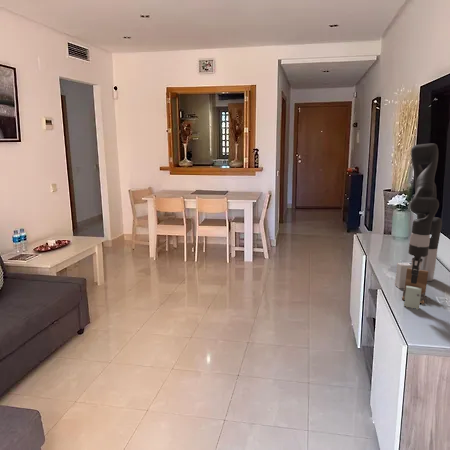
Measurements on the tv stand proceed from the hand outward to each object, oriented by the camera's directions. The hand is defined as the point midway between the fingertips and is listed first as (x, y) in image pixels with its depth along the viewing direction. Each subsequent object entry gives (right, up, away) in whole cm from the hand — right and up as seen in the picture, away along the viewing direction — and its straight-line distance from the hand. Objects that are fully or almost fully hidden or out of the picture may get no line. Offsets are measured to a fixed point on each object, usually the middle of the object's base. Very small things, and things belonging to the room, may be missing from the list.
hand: (414, 280), depth 176 cm
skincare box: (+6, -7, +27) cm, 28 cm away
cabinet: (+6, -10, +14) cm, 18 cm away
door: (0, -12, +3) cm, 12 cm away
